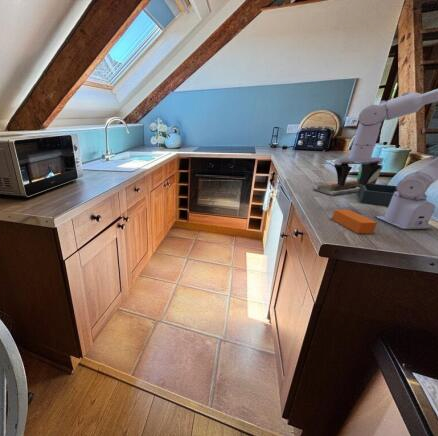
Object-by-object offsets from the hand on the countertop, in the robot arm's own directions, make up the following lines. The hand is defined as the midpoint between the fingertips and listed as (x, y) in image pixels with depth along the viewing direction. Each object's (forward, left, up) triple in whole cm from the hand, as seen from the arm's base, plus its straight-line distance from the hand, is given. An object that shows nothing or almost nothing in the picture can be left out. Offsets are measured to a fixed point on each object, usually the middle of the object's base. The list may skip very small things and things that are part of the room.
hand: (351, 184), depth 86 cm
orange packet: (-14, +8, -10) cm, 18 cm away
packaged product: (+24, -15, -10) cm, 30 cm away
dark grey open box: (+10, -22, -10) cm, 26 cm away
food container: (+32, -33, -10) cm, 47 cm away
